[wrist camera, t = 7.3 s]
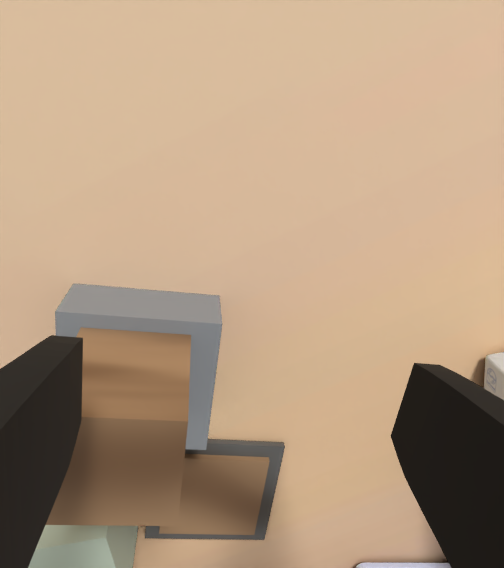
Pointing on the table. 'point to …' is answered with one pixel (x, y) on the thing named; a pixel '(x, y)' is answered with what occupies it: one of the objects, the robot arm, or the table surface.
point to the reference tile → (226, 491)
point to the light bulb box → (494, 374)
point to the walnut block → (128, 431)
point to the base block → (161, 319)
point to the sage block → (85, 547)
